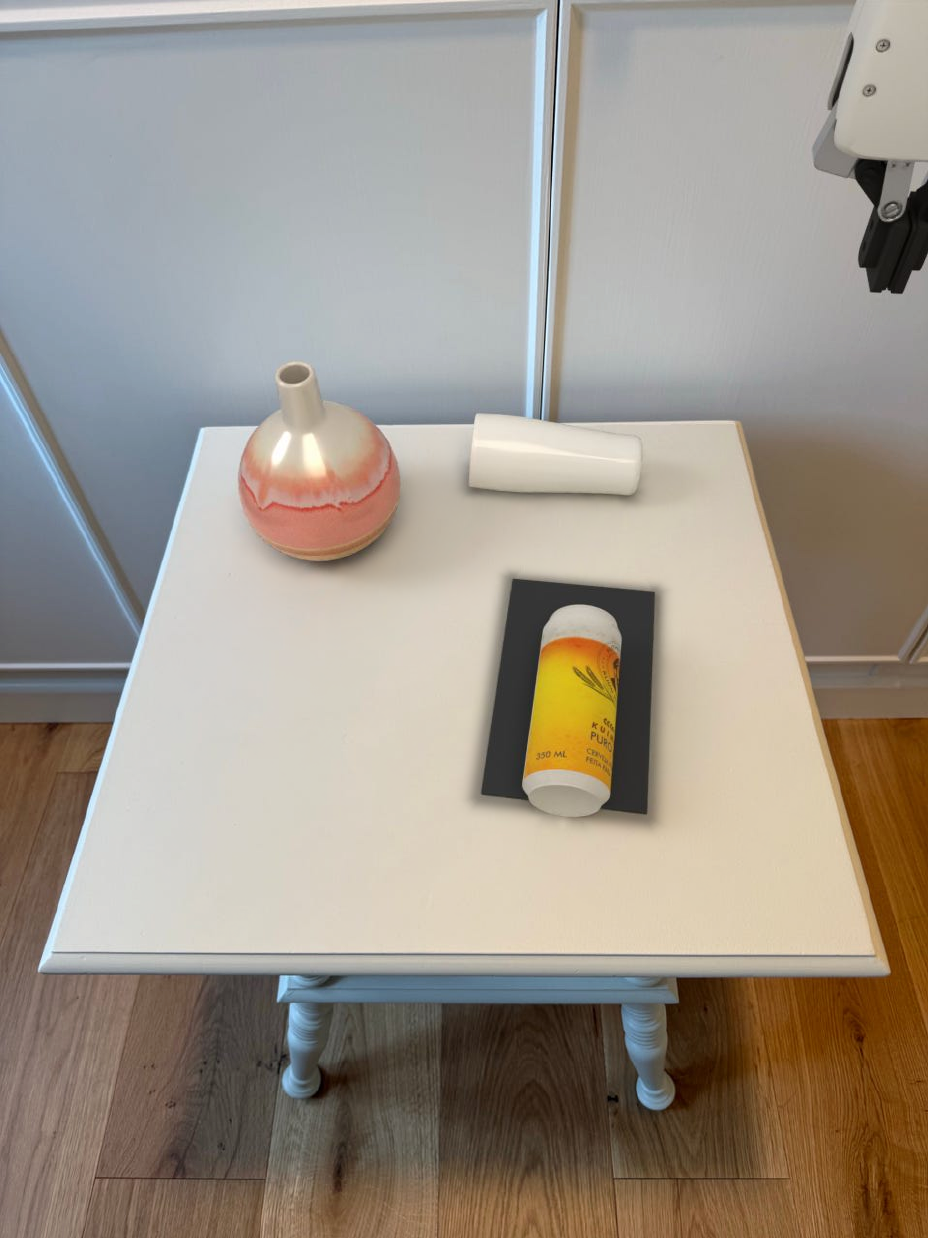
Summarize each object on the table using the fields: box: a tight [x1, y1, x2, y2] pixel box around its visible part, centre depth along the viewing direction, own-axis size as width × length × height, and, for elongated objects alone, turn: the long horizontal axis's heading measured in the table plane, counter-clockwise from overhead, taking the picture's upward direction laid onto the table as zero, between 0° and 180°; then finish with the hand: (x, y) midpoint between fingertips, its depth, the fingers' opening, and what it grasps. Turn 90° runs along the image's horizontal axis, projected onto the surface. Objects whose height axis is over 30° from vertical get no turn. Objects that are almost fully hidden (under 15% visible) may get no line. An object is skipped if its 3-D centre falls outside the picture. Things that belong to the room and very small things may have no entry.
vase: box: [237, 360, 402, 562], centre depth 76 cm, size 14×14×18 cm
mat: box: [480, 578, 656, 815], centre depth 72 cm, size 12×20×1 cm, turn 172°
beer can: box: [522, 605, 622, 818], centre depth 68 cm, size 6×6×15 cm
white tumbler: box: [468, 412, 644, 496], centre depth 83 cm, size 7×7×15 cm
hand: (882, 277), depth 49 cm, fingers closed
